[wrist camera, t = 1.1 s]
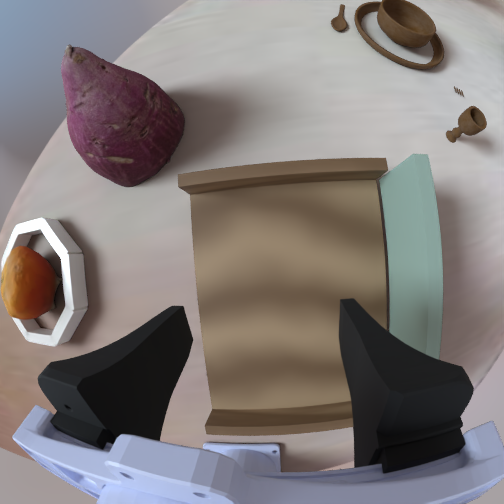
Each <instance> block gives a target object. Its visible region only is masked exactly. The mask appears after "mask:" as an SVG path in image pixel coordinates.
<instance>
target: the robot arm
mask: <svg viewBox="0 0 504 504" xmlns="http://www.w3.org/2000/svg"><path fill="white" fill-rule="evenodd" d="M192 342H193V337H192V334H191V331H190V327H189V324H188V321H187V317H186V314H185V310H184V307H183V306H171V307H169V308H167V309H166V310H164V311H163V312H161V313H160V314H158V315H157V316H155V317H154V318H152V319H151V320H150V321H148V322H147V323H145V324H144V325H142V326H141V327H139V328H138V329H136V330H134V331H133V332H131V333H130V334H128V335H127V336H125V337H123V338H121V339H120V340H118V341H116V342H114V343H112V344H110V345H108V346H105V347H103V348H100V349H98V350H96V351H93V352H91V353H88V354H85V355H81V356H78V357H74V358H70V359H66V360H60V361H55V362H51V363H50V364H49V365H48V366H47V367H46V368H45V369H44V370H43V372H42V373H41V374H40V375H39V376H38V383H39V386H40V388H41V390H42V391H43V393H44V394H45V396H46V397H47V398H48V400H49V401H50V402H51V404H52V405H53V406H54V407H55V409H56V410H57V412H56V413H55V415H54V414H52V413H51V412H50V411H48V410H46V409H44V408H42V407H40V406H38V405H35V407H34V408H33V409H32V411H31V412H30V413H29V415H28V416H27V417H26V419H25V420H24V421H23V423H22V424H21V425H20V427H19V428H18V430H17V431H16V432H15V434H14V435H13V439H14V440H15V441H16V442H17V443H18V444H19V445H20V446H21V447H22V448H23V449H24V450H25V451H26V452H27V453H28V454H29V455H30V456H31V457H32V458H33V459H34V460H36V461H37V462H38V463H39V464H40V465H41V466H42V467H44V468H46V469H47V470H49V471H50V472H51V473H53V474H55V475H57V476H58V477H60V478H61V479H63V480H64V481H66V482H68V483H69V484H71V485H73V486H74V487H76V488H78V489H80V490H81V491H83V492H85V493H87V494H89V495H91V496H93V497H94V498H96V499H98V501H97V503H96V504H466V503H468V502H470V501H473V500H475V499H477V498H479V497H480V496H481V495H483V494H484V493H485V492H487V491H488V490H489V489H491V488H492V487H493V486H495V485H496V484H497V483H498V482H500V480H502V479H503V478H504V446H503V443H502V441H501V438H500V436H499V433H498V431H497V428H496V426H495V424H494V422H493V421H489V422H487V423H485V424H482V425H480V426H478V427H475V428H473V429H471V430H468V431H467V432H466V433H464V434H463V435H462V432H461V429H460V428H461V427H462V426H463V422H462V420H461V417H460V416H461V415H462V413H463V412H464V410H465V408H466V407H467V405H468V403H469V401H470V399H471V397H472V394H473V389H474V388H473V386H472V384H471V381H470V379H469V377H468V375H467V374H466V372H465V370H464V369H463V367H461V366H458V365H454V364H451V363H447V362H444V361H441V360H438V359H436V358H433V357H431V356H428V355H426V354H424V353H422V352H420V351H418V350H416V349H414V348H412V347H411V346H409V345H407V344H405V343H404V342H402V341H401V340H399V339H398V338H396V337H395V336H394V335H392V334H391V333H390V332H388V331H387V330H386V329H385V328H383V327H382V326H381V325H380V324H379V323H378V322H377V321H376V320H375V319H374V318H372V317H371V316H370V315H369V314H368V313H367V312H366V310H365V309H364V308H363V307H362V306H361V305H360V304H359V303H358V302H357V301H356V300H355V299H354V298H349V299H340V316H339V344H340V352H341V358H342V362H343V366H344V370H345V374H346V378H347V383H348V387H349V391H350V397H351V404H352V415H353V429H354V466H355V467H354V468H349V469H340V470H329V471H314V472H281V465H280V446H279V445H278V444H226V443H208V442H207V443H204V445H203V449H201V448H194V447H188V446H182V445H176V444H171V443H166V442H161V441H160V436H161V431H162V427H163V423H164V419H165V415H166V411H167V408H168V405H169V401H170V398H171V395H172V393H173V390H174V388H175V386H176V384H177V382H178V379H179V377H180V375H181V373H182V371H183V368H184V366H185V364H186V362H187V359H188V357H189V353H190V350H191V346H192ZM207 449H209V450H207ZM274 450H276V452H274Z"/></svg>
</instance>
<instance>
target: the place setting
mask: <svg viewBox="0 0 504 504" xmlns="http://www.w3.org/2000/svg"><path fill="white" fill-rule="evenodd" d="M344 8H345V5H342V4H341V5H340V11H339V15H338V16H337V17H335V18H333V19H332V21H331V25H332V27H333V28H334V29H335V30H337V31H342V30H344V29H345V28H346V27H347V23H346V21H345V20H344V18H343V12H344ZM375 11H378V14H377V21H378V24H379V26H380V28H381V29H382V30H383V32H384V33H385V34H386V35H387V36H388V37H389V38H390V39H391V40H392V41H394V42H396V43H397V44H400V45H403V46H408V47H413V48H418V47H422V46H424V45H426V44H427V43H428V42H429V41H430V42H431V44H432V47H433V50H434V56H433V59H432V60H431V61H430V62H429V63H427V64H418V63H414V62H410V61H407V60H405V59H402V58H400V57H398V56H396V55H394V54H392V53H390V52H388V51H387V50H385V49H384V48H382V47H381V46H379V45H378V44H377V43H375V42H374V41H373V40H372V39H371V38H370V37H369V36H368V35H367V34H366V33H365V32H364V30H363V29H362V27H361V20H362V18H363V17H364V15H366V14H367V13H370V12H375ZM355 24H356V27H357V30H358V31H359V33H360V35H361V36H362V37H363V39H364V40H365V41H366V42H367V43H368V44H369V45H370V46H371V47H372V48H374V49H375V50H376V51H377V52H379V53H380V54H382V55H383V56H385V57H386V58H388V59H390V60H392V61H394V62H396V63H398V64H401V65H404V66H407V67H410V68H415V69H429V68H433V67H435V66H437V65H438V64H439V63H440V62H441V61H442V60H443V57H444V48H443V45H442V42H441V40H440V38H439V37H438V35H437V34H436V33H435V32H436V27H435V24H434V22H433V20H432V19H431V18H430V17H429V15H428V14H427V13H425V12H424V11H423V10H422V9H420V8H419V7H417V6H416V5H414V4H412V3H410V2H408V1H405V0H382V2H368V3H365V4H362V5H361V6H359V7H358V8H357V10H356V13H355ZM454 89H455V86H454ZM455 91H456V89H455ZM457 92H458V89H457ZM459 92H460V89H459ZM459 92H458V94H459ZM461 92H462V90H461ZM461 92H460V95H461ZM462 95H463V92H462ZM463 97H464V96H463ZM458 125H459V127H458V128H454V129H453V130H452V131H447V132H446V136H447V138H448V140H449V141H450V142H452V143H454V142H456V138H458V137H460V136H461V134H462V133H464V134H466V135H469V136H471V135H475V134H477V133H479V132H480V131H482V130H483V129H485V128H486V125H487V122H486V118H485V116H484V114H483V113H482V112H481V111H480V110H479V109H478V108H477V107H475V106H471V107H469V108H468V109H466V110H465V111H464V112H463V113H462V114H461V115H460V117H459V119H458Z"/></svg>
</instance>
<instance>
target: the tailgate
mask: <svg viewBox="0 0 504 504" xmlns="http://www.w3.org/2000/svg"><path fill="white" fill-rule="evenodd" d="M379 182H380V188H381V195H382V202H383V210H384V219H385V228H386V238H387V251H388V266H389V291H390V333H391V334H392V335H394V336H395V337H396V338H398V339H399V340H401V341H402V342H404V343H405V344H407V345H409V346H411V347H412V348H414V349H416V350H418V351H420V352H422V353H424V354H426V355H428V356H431V357H433V358H436V359H438V360H439V355H440V345H441V333H442V315H443V265H442V247H441V235H440V225H439V216H438V208H437V201H436V194H435V188H434V183H433V177H432V172H431V167H430V162H429V158H428V155H427V154H412V155H411V156H410V157H408V158H407V159H406V160H404V161H403V162H402V163H400V164H399V165H398V166H397V167H395V168H394V169H393V170H391V171H390V172H389V173H387V174H386V175H385V176H383V177H382V178H381V179H379Z"/></svg>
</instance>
